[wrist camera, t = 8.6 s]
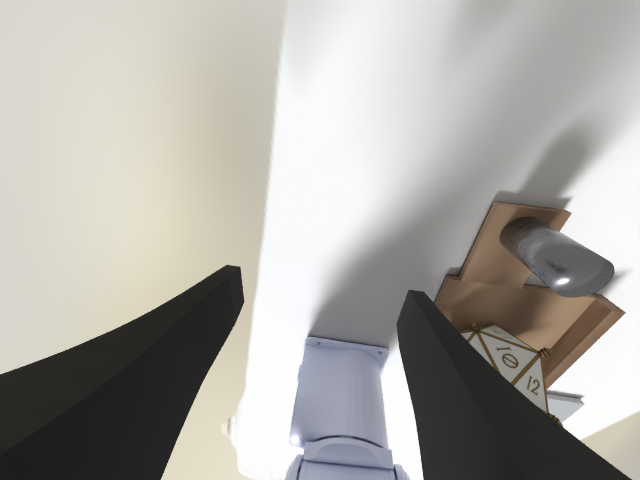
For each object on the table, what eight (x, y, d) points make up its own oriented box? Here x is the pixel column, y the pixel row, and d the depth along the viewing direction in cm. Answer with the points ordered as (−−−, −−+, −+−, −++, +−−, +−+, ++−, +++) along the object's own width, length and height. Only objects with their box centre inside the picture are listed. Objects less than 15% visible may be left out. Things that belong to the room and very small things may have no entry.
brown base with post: (410, 357, 27) (425, 417, 22) (479, 200, 17) (535, 239, 12) (528, 375, 26) (573, 442, 21) (668, 221, 16) (814, 272, 11)
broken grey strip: (424, 402, 31) (426, 407, 31) (440, 376, 28) (441, 381, 28) (550, 423, 30) (554, 428, 30) (580, 398, 27) (584, 404, 27)
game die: (448, 318, 28) (430, 410, 24) (439, 285, 23) (413, 396, 18) (551, 345, 23) (552, 471, 18) (573, 309, 17) (581, 478, 13)
